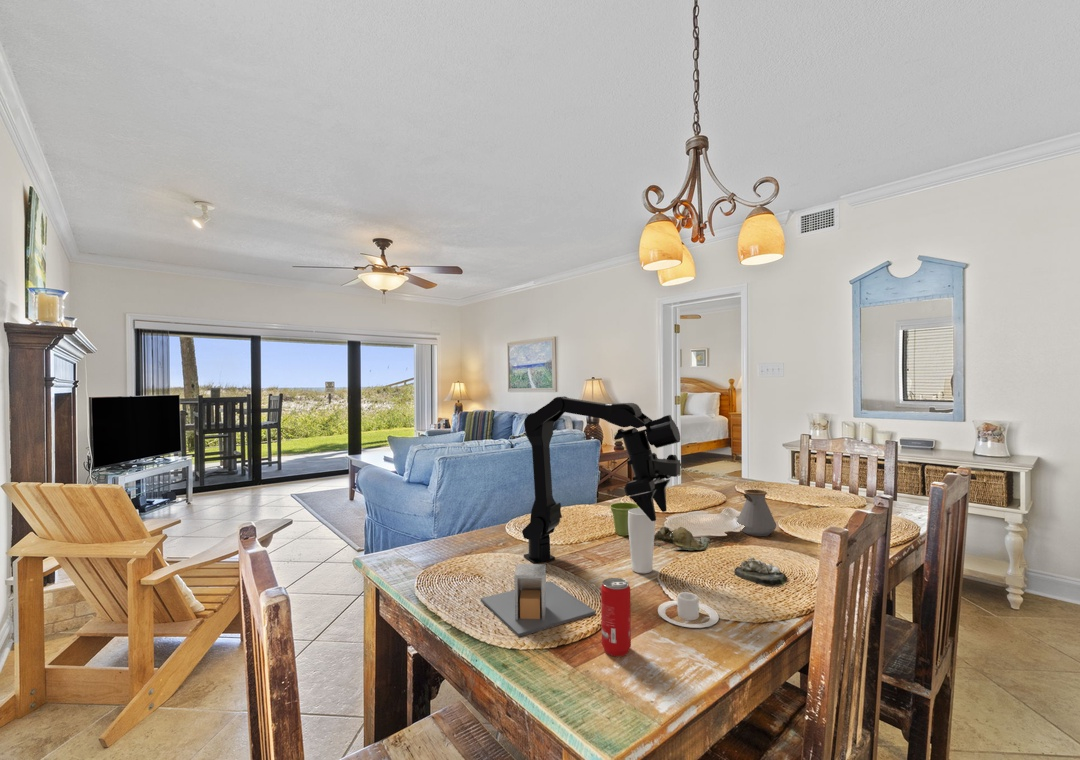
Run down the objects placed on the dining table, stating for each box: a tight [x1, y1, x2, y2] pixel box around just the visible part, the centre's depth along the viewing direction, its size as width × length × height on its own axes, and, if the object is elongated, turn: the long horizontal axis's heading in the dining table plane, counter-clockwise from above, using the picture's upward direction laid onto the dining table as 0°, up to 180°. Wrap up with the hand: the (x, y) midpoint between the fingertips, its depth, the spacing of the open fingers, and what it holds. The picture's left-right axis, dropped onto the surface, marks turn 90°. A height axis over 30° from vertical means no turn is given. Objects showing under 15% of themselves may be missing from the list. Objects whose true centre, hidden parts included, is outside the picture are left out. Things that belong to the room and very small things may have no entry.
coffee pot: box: [736, 489, 777, 537], centre depth 152 cm, size 21×12×15 cm, turn 145°
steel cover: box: [513, 563, 547, 621], centre depth 102 cm, size 6×6×9 cm
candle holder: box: [657, 591, 720, 629], centre depth 102 cm, size 12×12×4 cm
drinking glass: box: [628, 508, 656, 574], centre depth 126 cm, size 7×7×15 cm
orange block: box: [520, 590, 541, 619], centre depth 102 cm, size 4×4×4 cm
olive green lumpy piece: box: [654, 525, 711, 552], centre depth 148 cm, size 18×18×5 cm
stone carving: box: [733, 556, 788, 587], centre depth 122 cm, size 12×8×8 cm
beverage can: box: [600, 577, 632, 658], centre depth 89 cm, size 5×5×12 cm
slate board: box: [480, 580, 597, 638], centre depth 106 cm, size 18×18×1 cm
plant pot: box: [609, 501, 640, 537], centre depth 157 cm, size 9×9×9 cm
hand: (659, 516), depth 119 cm, fingers open, 9 cm apart
